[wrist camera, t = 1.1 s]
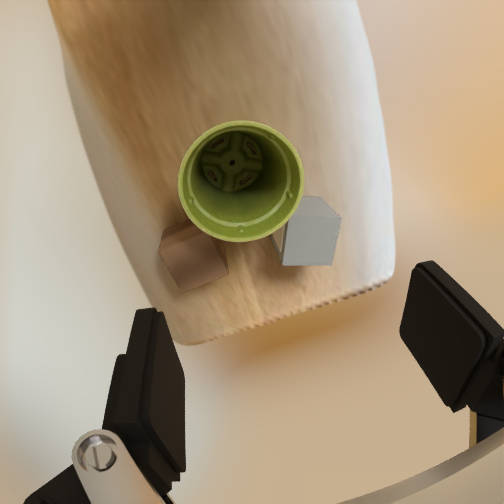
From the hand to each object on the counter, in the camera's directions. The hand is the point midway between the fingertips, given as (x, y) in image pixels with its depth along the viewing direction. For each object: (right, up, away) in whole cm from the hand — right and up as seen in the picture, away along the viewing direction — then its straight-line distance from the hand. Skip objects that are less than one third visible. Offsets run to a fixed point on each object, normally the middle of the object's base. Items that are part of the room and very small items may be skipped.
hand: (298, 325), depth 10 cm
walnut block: (-8, +3, +25) cm, 26 cm away
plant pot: (-3, +11, +21) cm, 24 cm away
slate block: (+3, +6, +25) cm, 26 cm away
